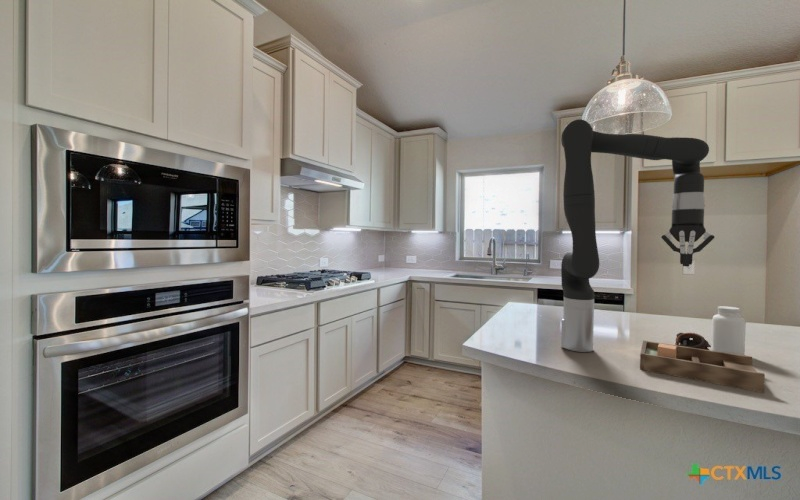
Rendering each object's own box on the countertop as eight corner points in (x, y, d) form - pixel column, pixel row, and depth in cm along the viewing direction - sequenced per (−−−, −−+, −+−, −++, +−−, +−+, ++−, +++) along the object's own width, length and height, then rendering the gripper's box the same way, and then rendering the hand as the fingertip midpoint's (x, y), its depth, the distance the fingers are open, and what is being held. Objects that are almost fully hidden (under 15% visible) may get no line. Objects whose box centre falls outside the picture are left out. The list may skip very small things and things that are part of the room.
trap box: (639, 369, 101) (640, 353, 101) (642, 354, 114) (643, 340, 114) (763, 392, 86) (764, 374, 86) (751, 372, 99) (751, 356, 99)
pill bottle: (704, 349, 119) (706, 305, 118) (726, 349, 119) (728, 305, 119) (728, 357, 111) (730, 310, 110) (751, 357, 111) (753, 309, 111)
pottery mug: (723, 362, 108) (716, 341, 106) (691, 374, 110) (685, 353, 107) (692, 341, 120) (686, 321, 118) (664, 352, 121) (658, 333, 119)
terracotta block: (657, 360, 101) (657, 346, 101) (658, 356, 104) (659, 343, 104) (674, 363, 99) (675, 349, 98) (676, 359, 101) (676, 346, 101)
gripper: (715, 208, 105) (713, 266, 106) (660, 210, 113) (658, 264, 114) (718, 206, 99) (716, 268, 100) (660, 208, 107) (658, 265, 108)
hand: (685, 266), depth 107 cm, fingers closed
